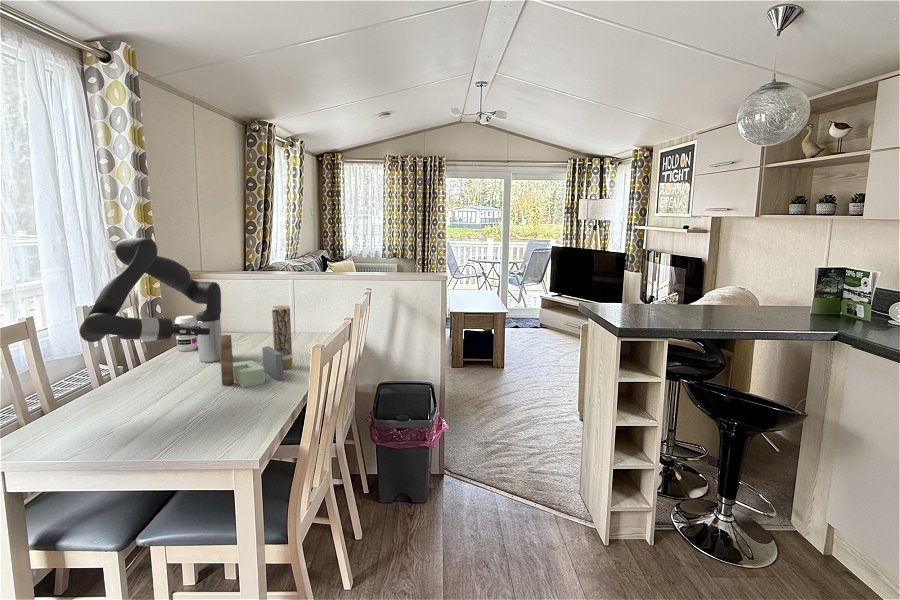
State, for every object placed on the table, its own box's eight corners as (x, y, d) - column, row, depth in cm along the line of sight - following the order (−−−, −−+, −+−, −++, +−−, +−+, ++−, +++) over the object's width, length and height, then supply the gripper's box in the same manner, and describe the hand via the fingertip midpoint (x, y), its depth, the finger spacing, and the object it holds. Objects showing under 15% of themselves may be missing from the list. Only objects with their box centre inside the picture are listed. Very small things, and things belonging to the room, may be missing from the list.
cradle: (230, 377, 202) (230, 363, 201) (252, 373, 207) (251, 360, 206) (242, 387, 191) (241, 372, 190) (264, 383, 196) (264, 368, 195)
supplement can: (191, 346, 248) (188, 314, 245) (200, 348, 243) (198, 316, 241) (173, 349, 241) (171, 317, 239) (183, 352, 237) (180, 319, 234)
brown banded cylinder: (220, 383, 195) (217, 335, 192) (232, 381, 197) (229, 334, 194) (224, 386, 192) (220, 338, 189) (235, 384, 194) (232, 336, 191)
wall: (263, 371, 209) (262, 347, 208) (270, 370, 211) (268, 346, 209) (276, 380, 199) (275, 354, 197) (283, 379, 200) (282, 353, 198)
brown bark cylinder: (287, 370, 211) (284, 308, 207) (271, 369, 213) (268, 307, 209) (295, 365, 218) (293, 305, 214) (280, 364, 219) (277, 305, 215)
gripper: (162, 319, 170) (213, 321, 181) (148, 316, 180) (198, 318, 191) (160, 342, 170) (211, 343, 181) (146, 338, 180) (196, 339, 191)
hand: (204, 330), depth 186 cm, fingers open, 8 cm apart
